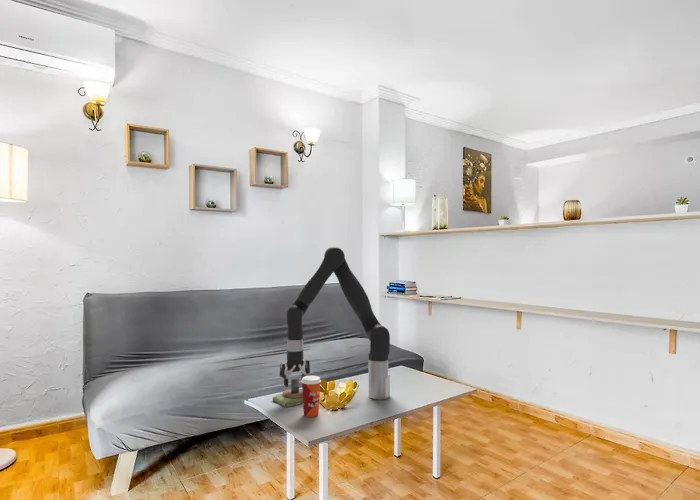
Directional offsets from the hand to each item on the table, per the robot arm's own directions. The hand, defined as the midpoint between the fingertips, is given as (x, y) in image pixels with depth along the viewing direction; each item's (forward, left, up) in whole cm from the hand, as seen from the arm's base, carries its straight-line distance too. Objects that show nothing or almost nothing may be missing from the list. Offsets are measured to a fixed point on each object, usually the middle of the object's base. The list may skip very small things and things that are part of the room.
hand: (294, 384), depth 191 cm
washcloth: (0, 0, -8) cm, 8 cm away
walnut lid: (0, 0, -4) cm, 4 cm away
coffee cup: (-16, +13, -7) cm, 22 cm away
